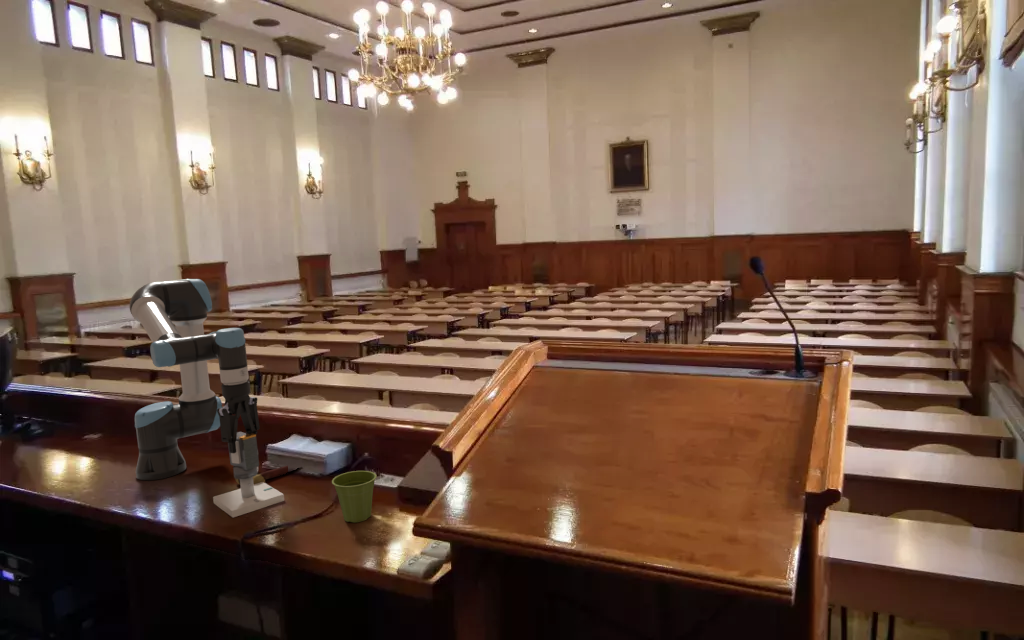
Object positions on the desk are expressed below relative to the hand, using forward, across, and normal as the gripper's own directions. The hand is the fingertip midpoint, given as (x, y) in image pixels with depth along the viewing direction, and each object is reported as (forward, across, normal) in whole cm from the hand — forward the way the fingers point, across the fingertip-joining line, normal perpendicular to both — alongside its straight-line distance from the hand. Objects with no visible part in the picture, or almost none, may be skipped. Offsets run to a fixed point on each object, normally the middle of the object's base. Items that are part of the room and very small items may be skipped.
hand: (244, 459), depth 192 cm
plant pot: (+13, -1, -39) cm, 41 cm away
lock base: (+13, 0, 0) cm, 13 cm away
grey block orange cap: (+5, 0, 0) cm, 5 cm away
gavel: (+14, +18, +6) cm, 24 cm away
